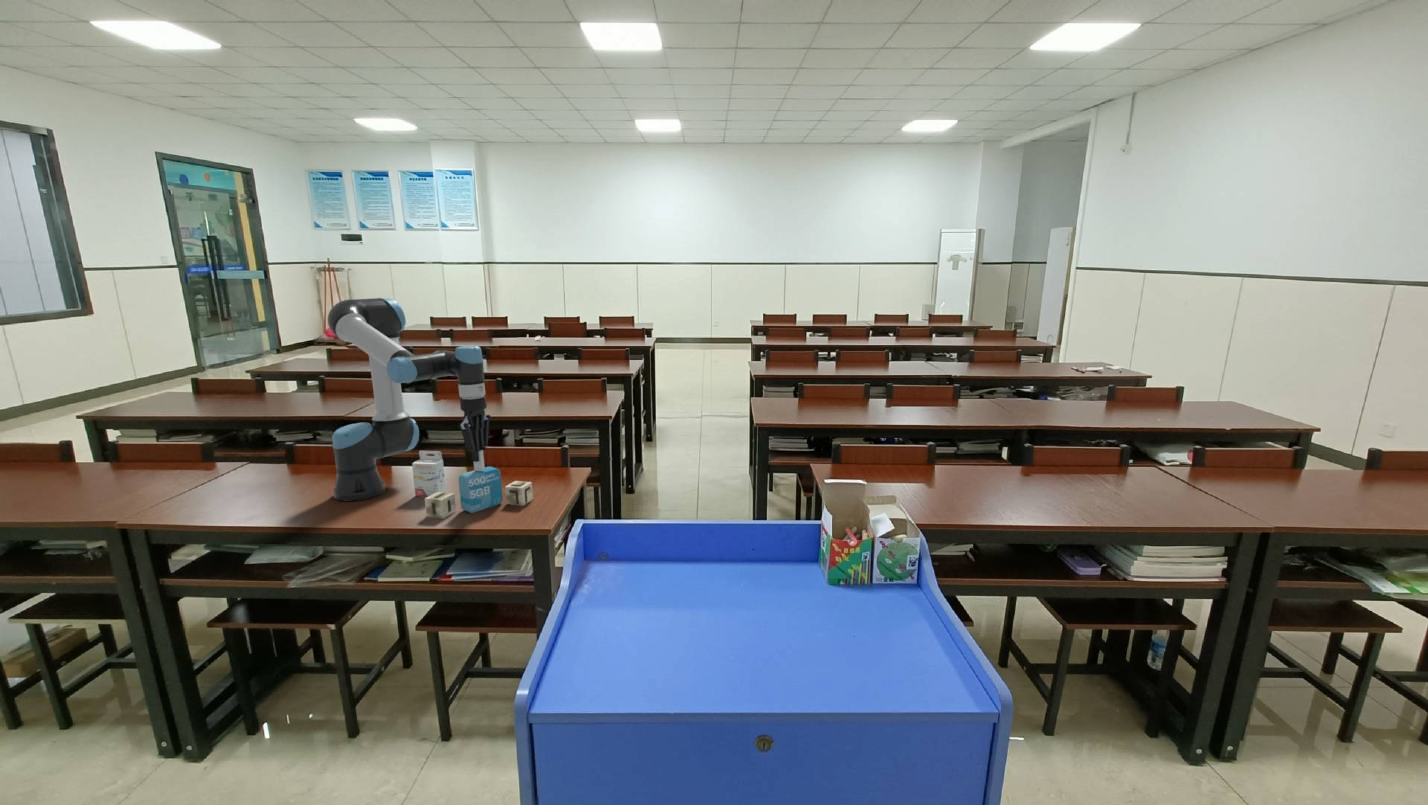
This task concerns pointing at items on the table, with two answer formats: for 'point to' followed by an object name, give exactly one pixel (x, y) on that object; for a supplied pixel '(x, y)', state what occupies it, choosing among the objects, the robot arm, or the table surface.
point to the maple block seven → (519, 493)
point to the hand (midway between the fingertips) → (479, 470)
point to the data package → (480, 489)
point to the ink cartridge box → (429, 474)
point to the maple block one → (440, 505)
